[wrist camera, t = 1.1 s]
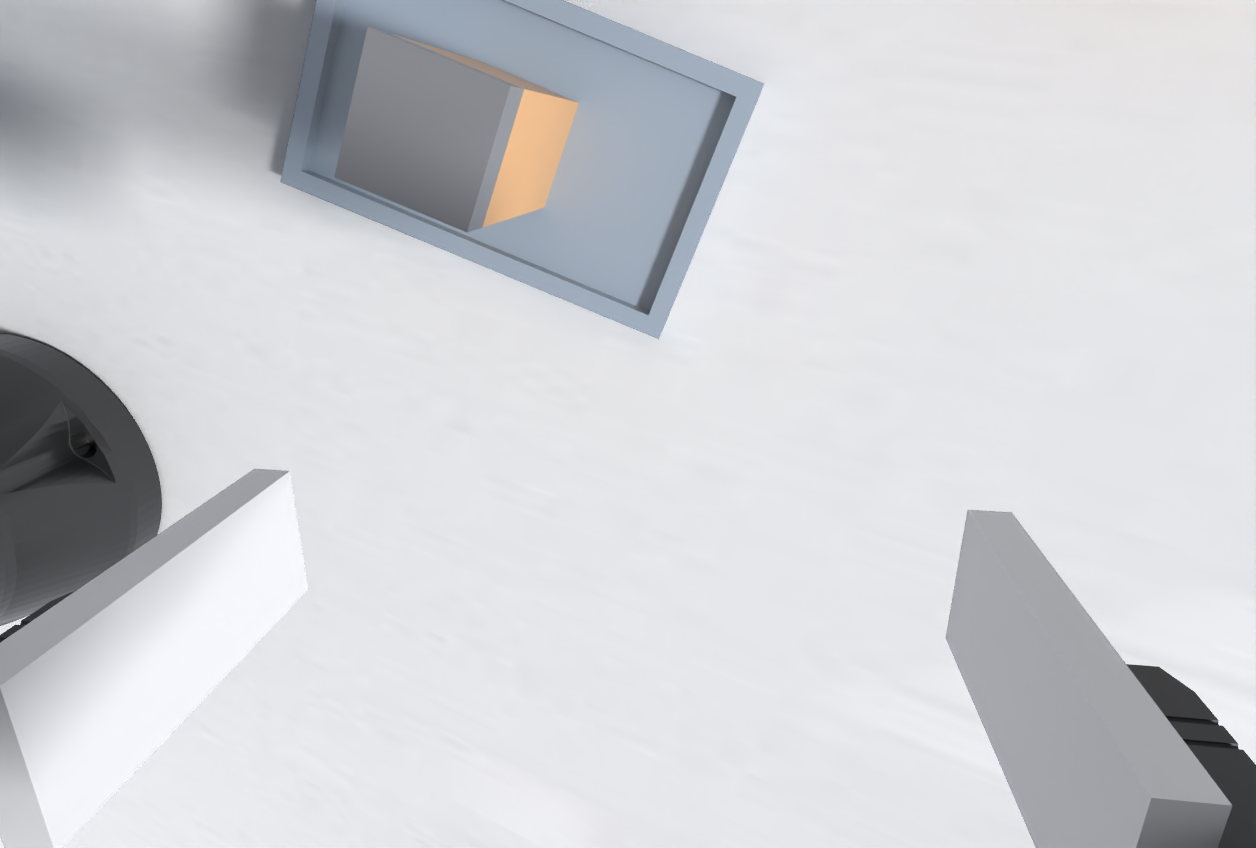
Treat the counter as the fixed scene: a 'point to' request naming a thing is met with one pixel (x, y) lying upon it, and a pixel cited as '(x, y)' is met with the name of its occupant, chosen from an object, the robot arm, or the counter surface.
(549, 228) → the tray
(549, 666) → the counter surface
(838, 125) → the counter surface
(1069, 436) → the counter surface
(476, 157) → the plug
